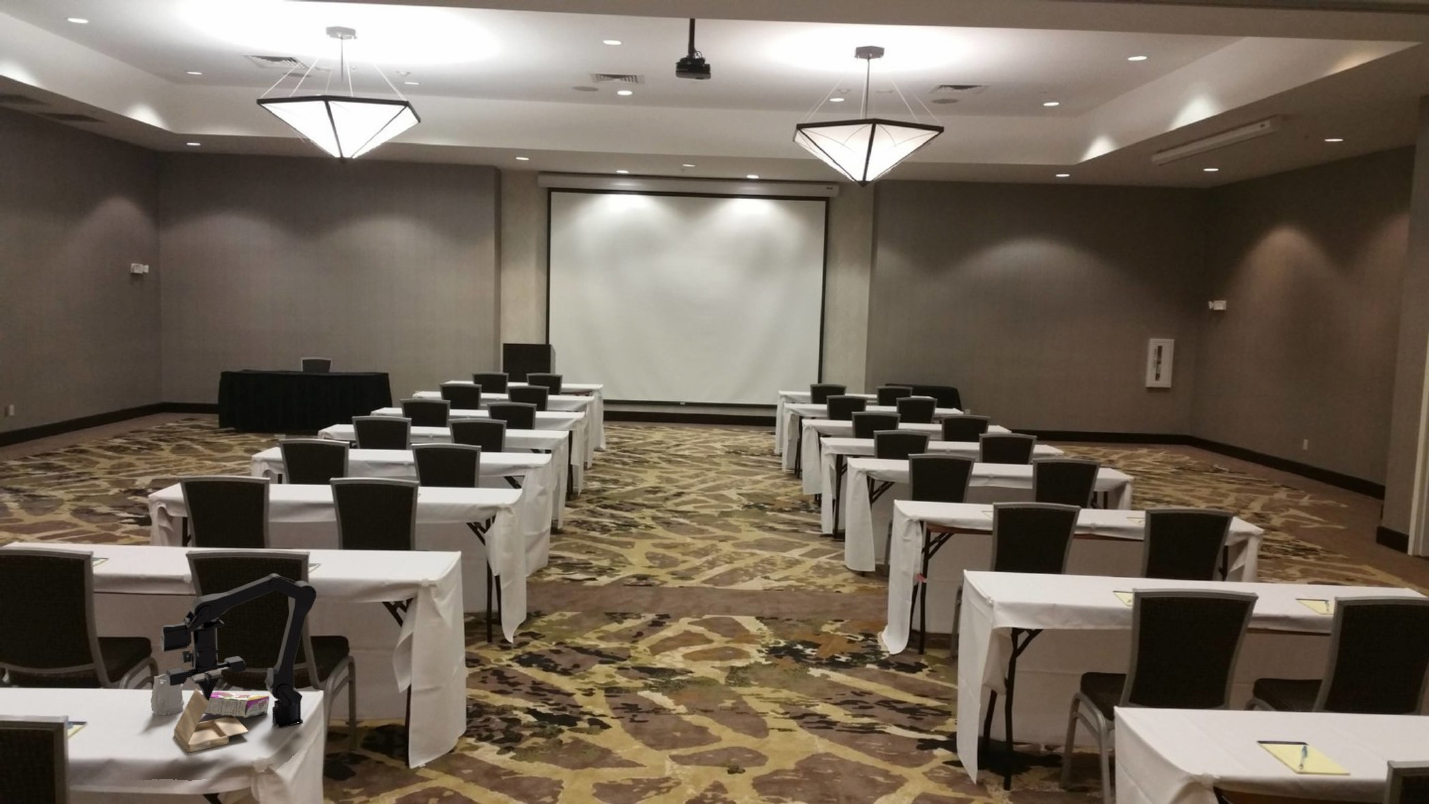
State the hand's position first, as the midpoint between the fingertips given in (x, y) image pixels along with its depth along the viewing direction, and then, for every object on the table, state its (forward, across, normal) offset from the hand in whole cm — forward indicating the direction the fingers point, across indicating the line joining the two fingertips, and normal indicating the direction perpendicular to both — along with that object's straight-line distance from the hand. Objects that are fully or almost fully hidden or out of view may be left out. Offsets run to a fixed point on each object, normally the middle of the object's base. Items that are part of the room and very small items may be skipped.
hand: (207, 701), depth 276 cm
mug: (+10, +5, -26) cm, 28 cm away
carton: (+10, -1, 0) cm, 10 cm away
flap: (+8, +6, 0) cm, 10 cm away
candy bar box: (+6, -4, -18) cm, 20 cm away
